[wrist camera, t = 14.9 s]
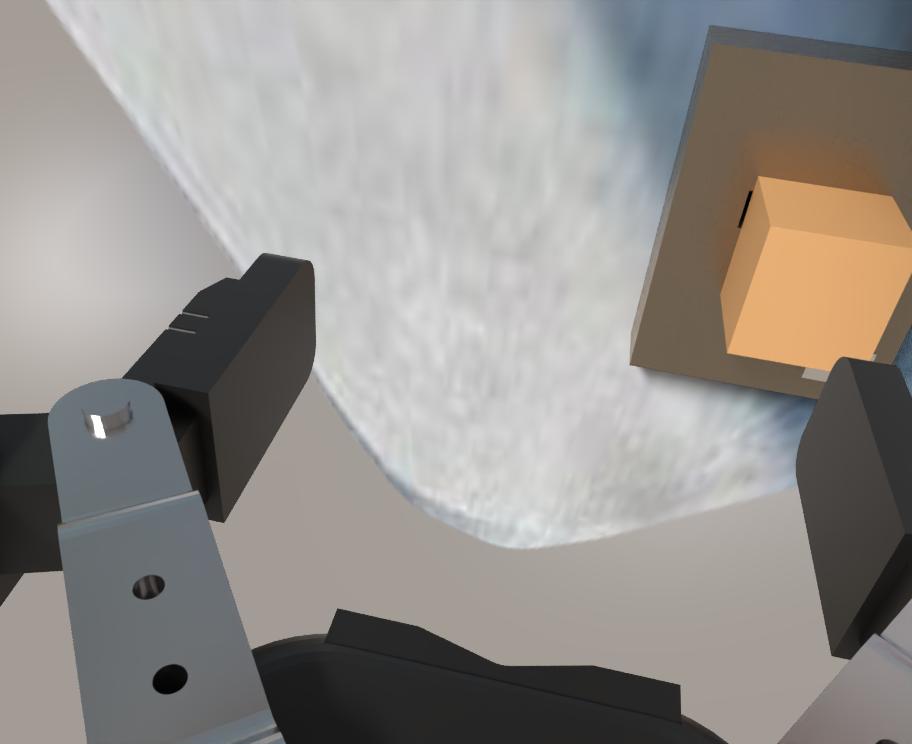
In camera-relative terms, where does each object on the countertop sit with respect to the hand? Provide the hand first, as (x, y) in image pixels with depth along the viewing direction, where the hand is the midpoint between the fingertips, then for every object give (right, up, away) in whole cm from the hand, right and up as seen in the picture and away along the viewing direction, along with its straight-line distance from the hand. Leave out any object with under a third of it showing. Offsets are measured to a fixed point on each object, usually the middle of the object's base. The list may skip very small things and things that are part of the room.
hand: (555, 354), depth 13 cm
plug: (+15, +7, +26) cm, 31 cm away
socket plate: (+15, +7, +27) cm, 31 cm away
